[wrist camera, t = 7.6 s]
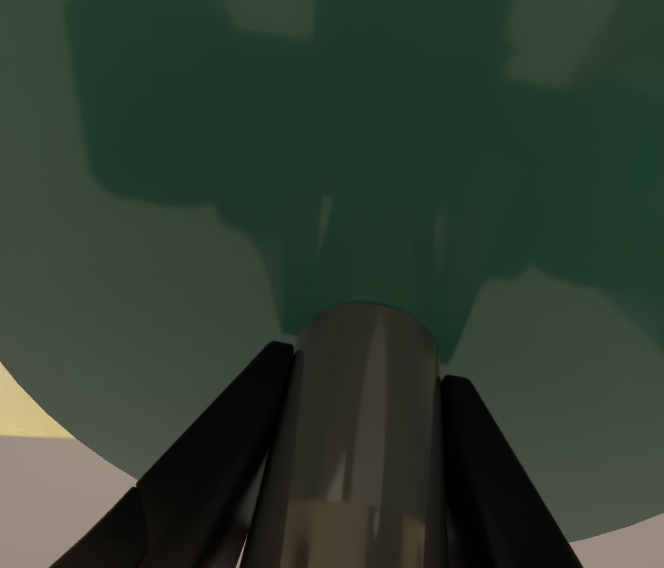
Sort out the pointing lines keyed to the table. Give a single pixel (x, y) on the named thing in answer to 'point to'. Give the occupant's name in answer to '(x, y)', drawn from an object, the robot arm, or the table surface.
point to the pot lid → (344, 246)
